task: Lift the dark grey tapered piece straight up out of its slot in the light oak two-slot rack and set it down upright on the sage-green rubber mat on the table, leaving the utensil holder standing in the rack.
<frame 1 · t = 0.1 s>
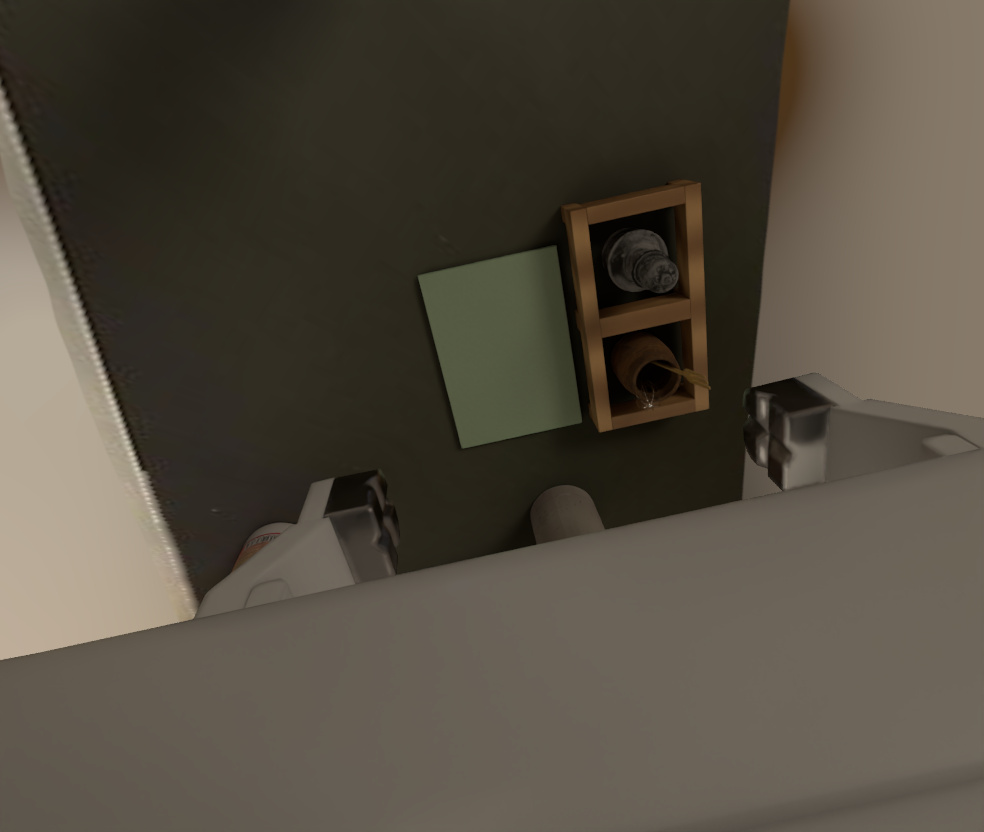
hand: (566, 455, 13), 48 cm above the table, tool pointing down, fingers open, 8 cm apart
mat: (505, 352, 63), on the table
dark grey tapered piece: (626, 254, 60), on the table
thermos bottle: (561, 511, 73), on the table
utensil holder: (635, 354, 64), on the table
fruit juice: (285, 550, 72), on the table
rack: (631, 306, 62), on the table
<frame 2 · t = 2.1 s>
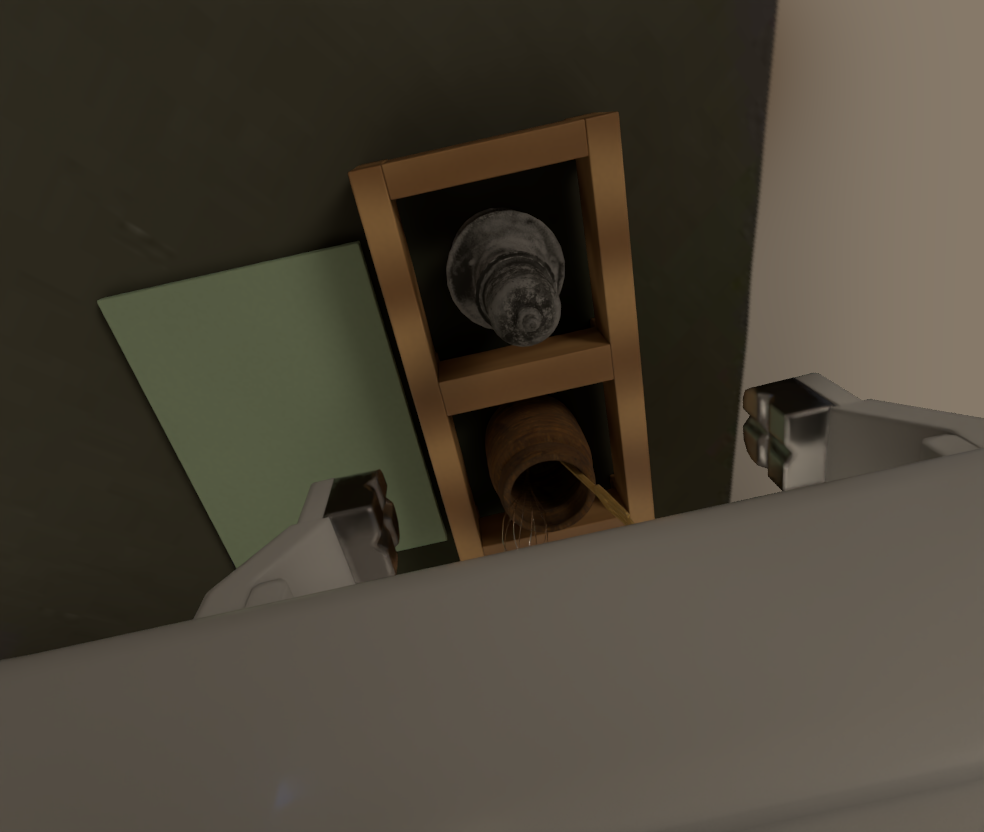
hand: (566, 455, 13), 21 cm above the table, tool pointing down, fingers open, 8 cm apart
mat: (296, 431, 36), on the table
dark grey tapered piece: (498, 257, 32), on the table
utensil holder: (531, 429, 37), on the table
rack: (516, 351, 35), on the table
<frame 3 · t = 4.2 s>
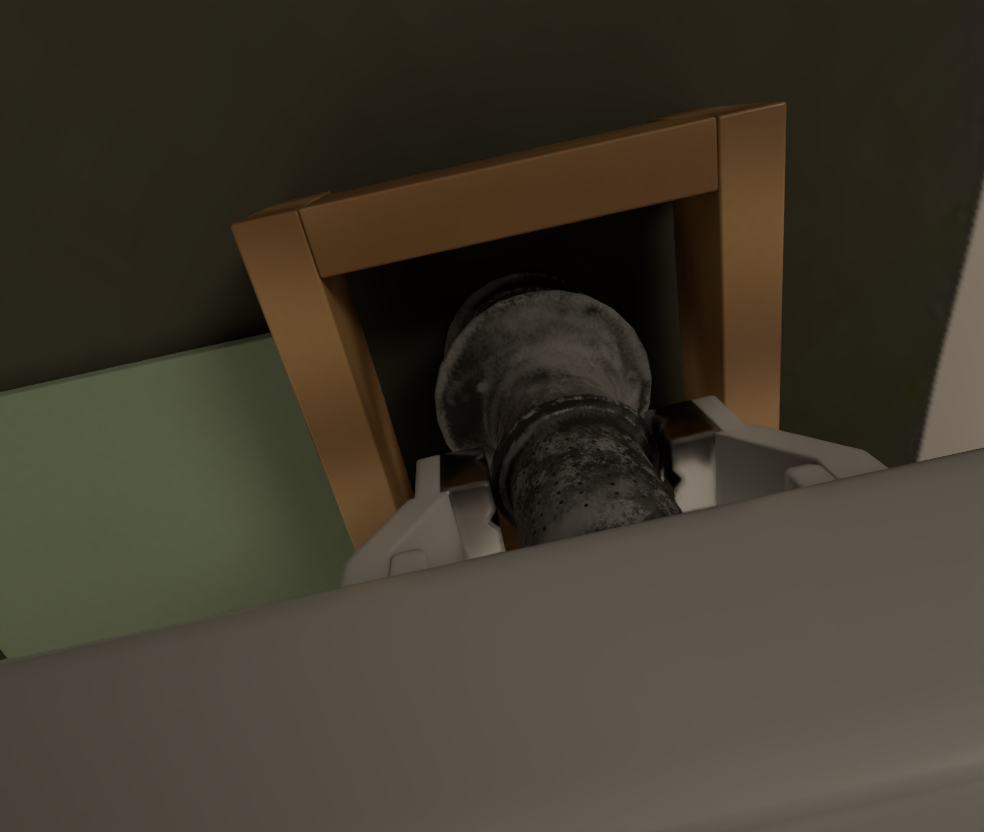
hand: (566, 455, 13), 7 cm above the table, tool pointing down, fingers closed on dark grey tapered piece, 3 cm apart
mat: (200, 614, 22), on the table
dark grey tapered piece: (525, 352, 19), on the table, touching gripper
rack: (551, 493, 21), on the table
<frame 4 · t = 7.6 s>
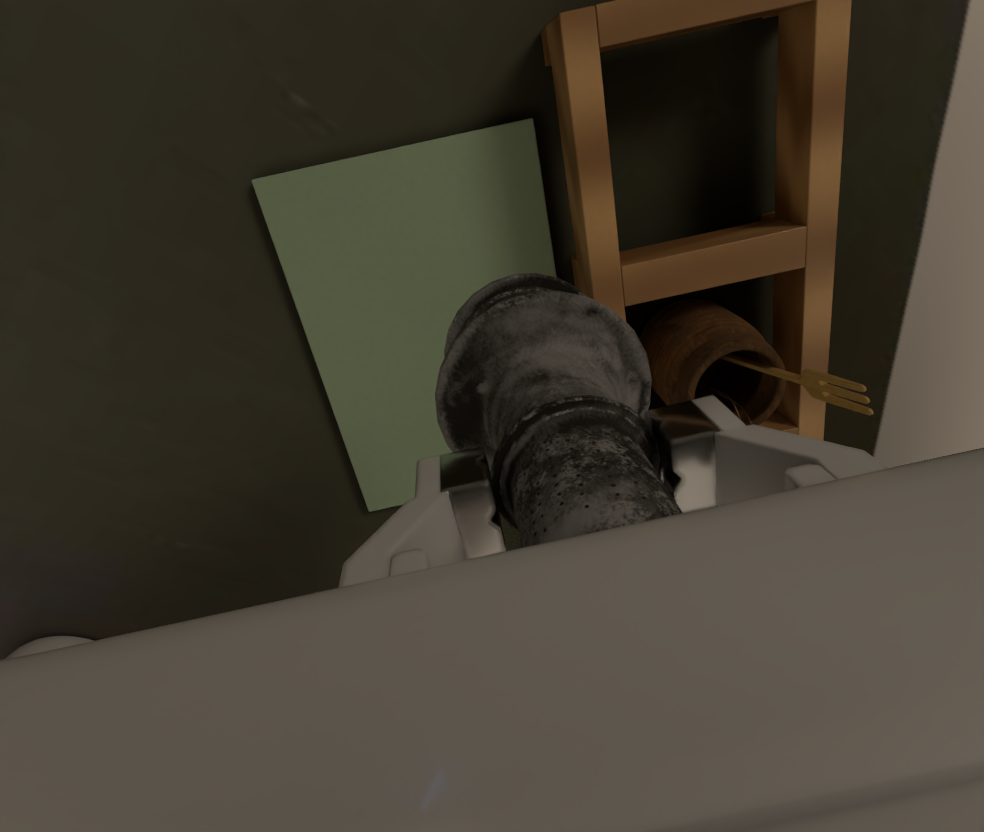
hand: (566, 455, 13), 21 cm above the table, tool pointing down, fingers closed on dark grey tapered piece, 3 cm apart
mat: (439, 338, 33), on the table
dark grey tapered piece: (525, 353, 19), point 14 cm above the table, touching gripper
utensil holder: (683, 342, 35), on the table
fruit juice: (78, 677, 42), on the table
rack: (679, 250, 32), on the table
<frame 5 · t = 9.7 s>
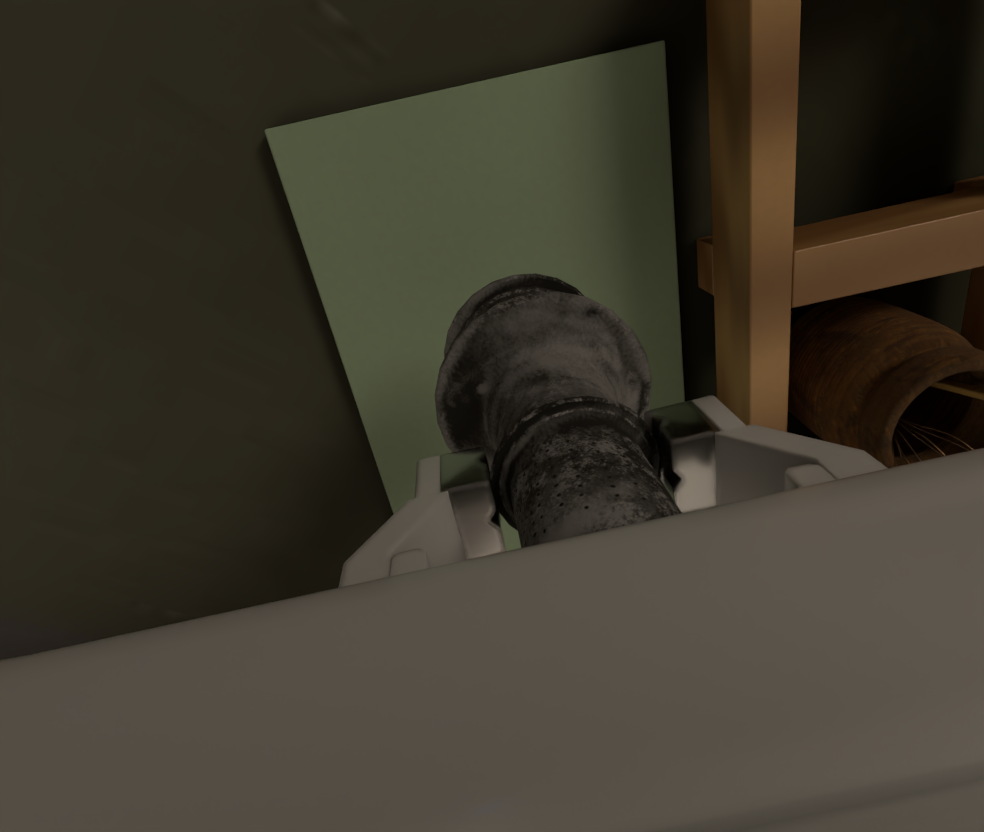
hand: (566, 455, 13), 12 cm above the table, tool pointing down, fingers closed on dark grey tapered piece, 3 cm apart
mat: (514, 350, 25), on the table
dark grey tapered piece: (525, 353, 19), point 6 cm above the table, touching gripper
utensil holder: (830, 354, 27), on the table
rack: (841, 231, 24), on the table
when the fingers open (7 cm above the table, at t = 11.3 s): dark grey tapered piece stays where it is, resting on mat.
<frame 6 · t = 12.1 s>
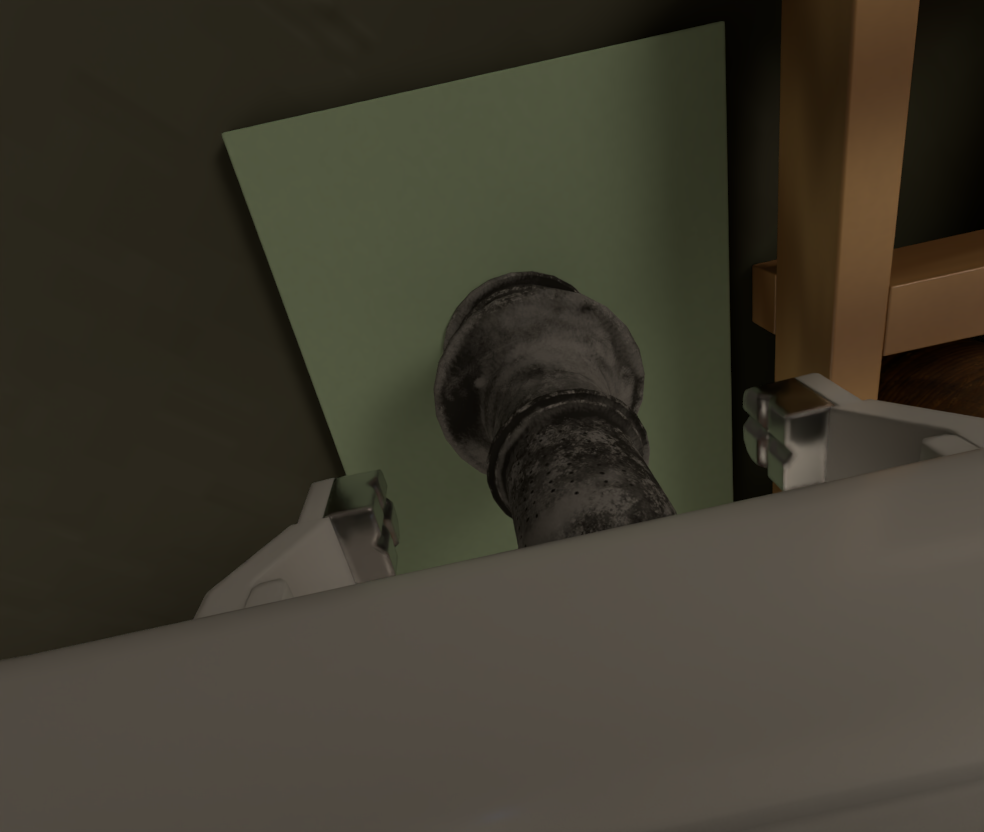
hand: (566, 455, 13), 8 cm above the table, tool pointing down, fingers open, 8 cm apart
mat: (530, 397, 21), on the table
dark grey tapered piece: (522, 349, 20), resting on mat
utensil holder: (903, 398, 22), on the table
rack: (926, 255, 20), on the table
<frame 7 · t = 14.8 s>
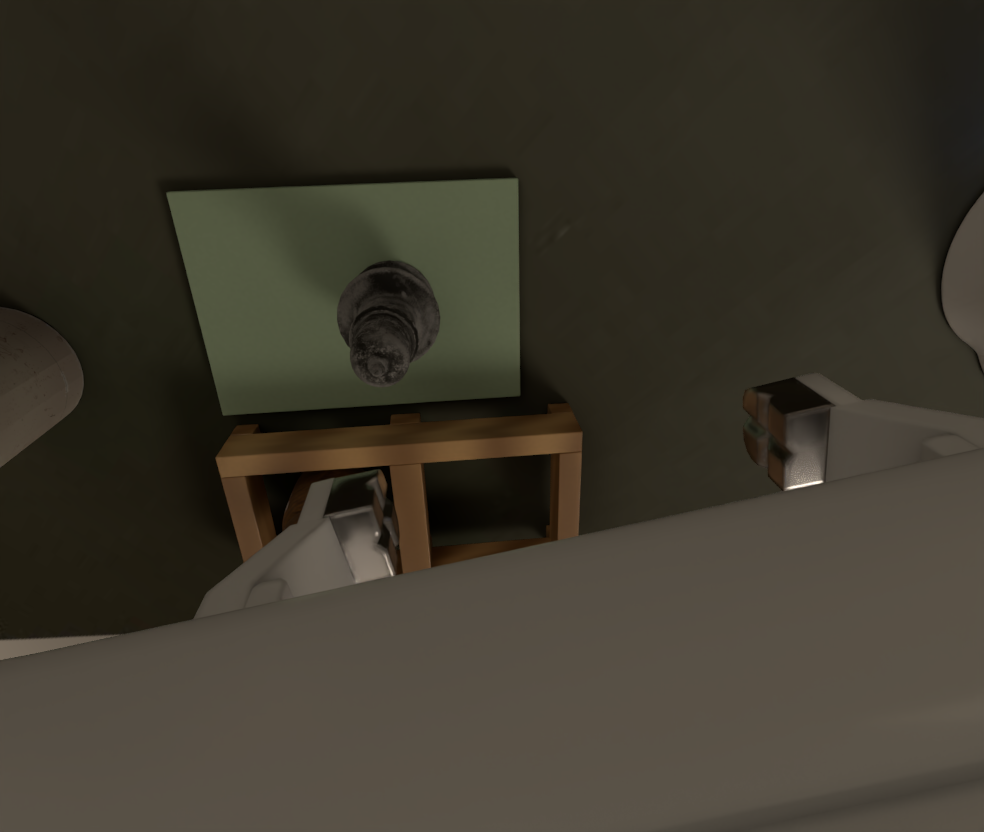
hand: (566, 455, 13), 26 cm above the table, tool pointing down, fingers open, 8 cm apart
mat: (362, 302, 37), on the table
dark grey tapered piece: (392, 302, 37), resting on mat
thermos bottle: (17, 366, 37), on the table
utensil holder: (338, 490, 43), on the table
rack: (413, 486, 44), on the table
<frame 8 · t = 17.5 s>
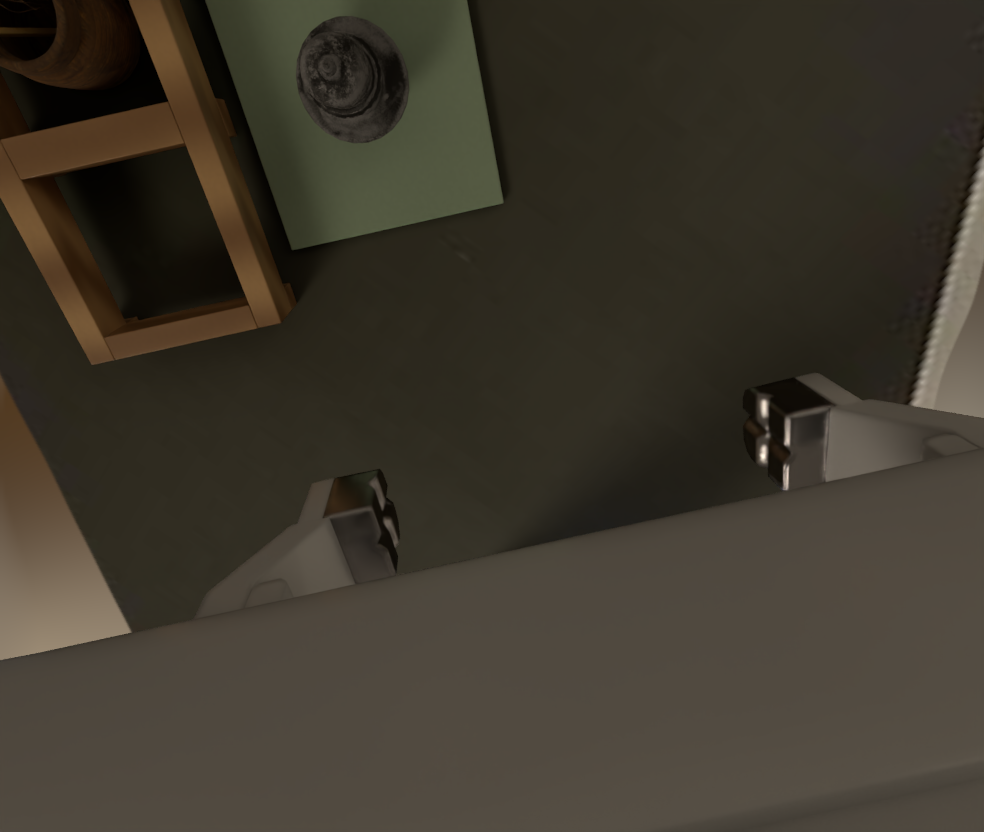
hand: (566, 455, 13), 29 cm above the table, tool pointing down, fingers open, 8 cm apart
mat: (351, 49, 34), on the table
dark grey tapered piece: (361, 87, 34), resting on mat
utensil holder: (87, 33, 33), on the table
rack: (132, 140, 35), on the table
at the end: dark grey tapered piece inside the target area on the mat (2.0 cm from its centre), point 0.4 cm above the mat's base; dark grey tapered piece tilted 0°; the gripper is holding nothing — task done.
